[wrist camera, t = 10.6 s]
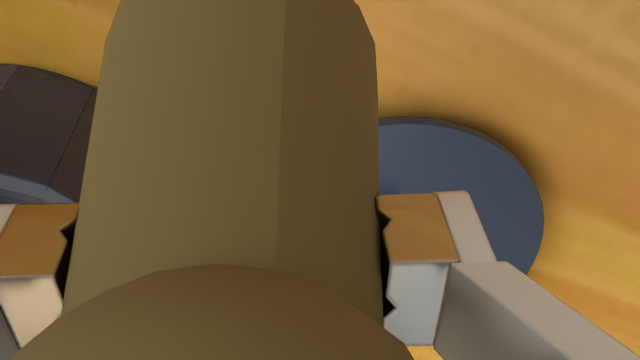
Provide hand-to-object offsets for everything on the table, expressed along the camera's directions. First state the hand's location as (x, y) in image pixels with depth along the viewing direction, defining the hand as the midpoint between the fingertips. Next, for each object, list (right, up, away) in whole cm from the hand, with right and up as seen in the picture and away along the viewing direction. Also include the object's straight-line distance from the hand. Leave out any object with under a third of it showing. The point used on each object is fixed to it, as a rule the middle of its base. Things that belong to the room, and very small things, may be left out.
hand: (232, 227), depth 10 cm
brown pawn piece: (0, +3, +4) cm, 5 cm away
